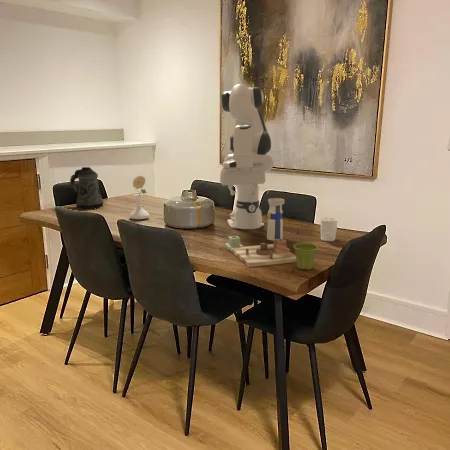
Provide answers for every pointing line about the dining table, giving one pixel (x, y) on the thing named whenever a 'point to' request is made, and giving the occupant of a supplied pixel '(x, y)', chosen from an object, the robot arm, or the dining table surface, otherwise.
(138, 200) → the flower in vase
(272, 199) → the water bottle
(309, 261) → the plant pot
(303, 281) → the dining table surface
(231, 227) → the robot arm
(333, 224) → the white cup
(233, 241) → the pale green pipe fitting
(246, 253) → the plate
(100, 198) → the beer stein
